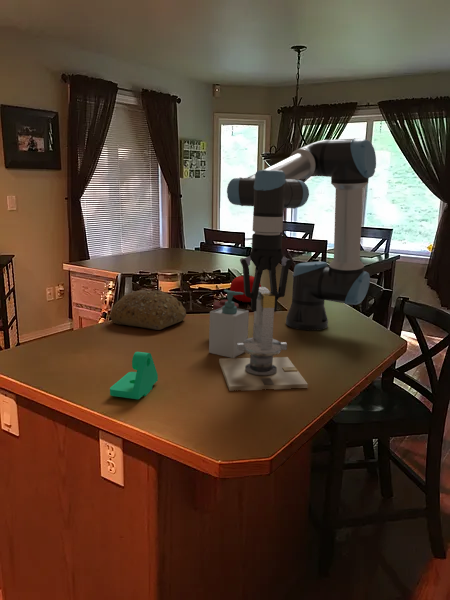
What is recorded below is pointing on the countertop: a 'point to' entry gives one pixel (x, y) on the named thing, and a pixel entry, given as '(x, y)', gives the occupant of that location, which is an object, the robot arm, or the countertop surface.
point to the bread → (148, 310)
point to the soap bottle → (228, 328)
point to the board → (242, 380)
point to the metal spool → (261, 366)
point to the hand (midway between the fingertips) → (263, 322)
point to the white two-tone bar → (263, 329)
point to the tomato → (241, 288)
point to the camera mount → (137, 378)
